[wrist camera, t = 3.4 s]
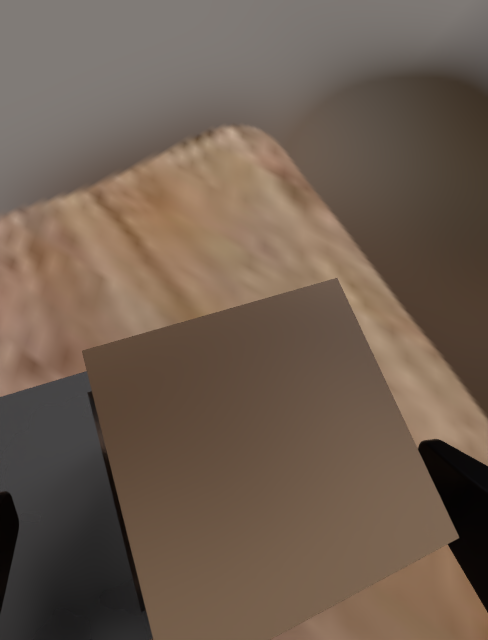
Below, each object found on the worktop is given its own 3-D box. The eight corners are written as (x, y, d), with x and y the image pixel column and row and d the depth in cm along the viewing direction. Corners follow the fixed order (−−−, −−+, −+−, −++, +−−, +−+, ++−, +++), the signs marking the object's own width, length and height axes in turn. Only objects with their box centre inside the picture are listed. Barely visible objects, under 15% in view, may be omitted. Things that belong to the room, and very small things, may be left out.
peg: (267, 486, 16) (460, 537, 5) (175, 525, 15) (167, 695, 4) (235, 395, 17) (337, 278, 6) (147, 426, 16) (82, 350, 5)
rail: (336, 519, 16) (371, 532, 13) (-292, 816, 11) (-468, 948, 8) (264, 335, 19) (280, 311, 16) (-283, 506, 13) (-417, 520, 10)
